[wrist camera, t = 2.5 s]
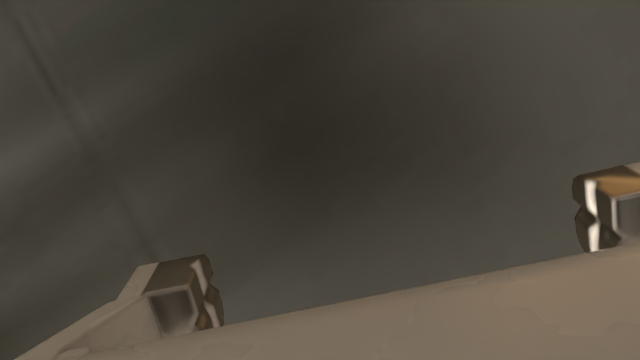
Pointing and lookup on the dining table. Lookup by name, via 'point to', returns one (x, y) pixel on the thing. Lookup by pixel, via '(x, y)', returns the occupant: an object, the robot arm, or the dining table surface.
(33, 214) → the dining table surface
